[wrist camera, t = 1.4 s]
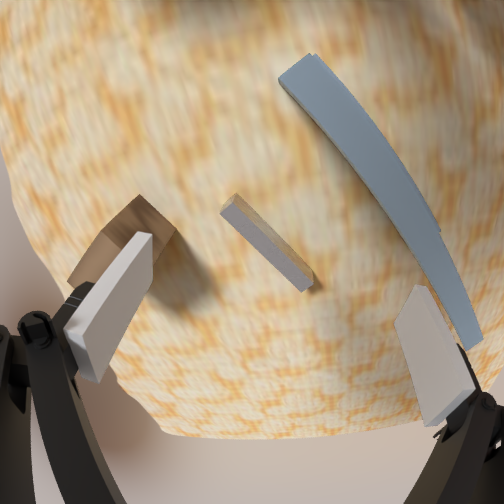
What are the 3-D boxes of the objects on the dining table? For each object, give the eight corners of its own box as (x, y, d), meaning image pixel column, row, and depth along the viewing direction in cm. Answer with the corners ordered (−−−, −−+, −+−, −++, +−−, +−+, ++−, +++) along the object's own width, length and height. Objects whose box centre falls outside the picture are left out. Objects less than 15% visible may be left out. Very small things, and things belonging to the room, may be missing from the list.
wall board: (278, 82, 28) (278, 78, 13) (314, 54, 26) (354, 19, 11) (409, 248, 36) (466, 351, 21) (438, 227, 34) (508, 320, 19)
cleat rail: (224, 203, 36) (219, 213, 33) (236, 192, 35) (232, 202, 32) (300, 278, 40) (301, 292, 38) (312, 270, 39) (313, 283, 37)
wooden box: (100, 244, 40) (64, 285, 32) (139, 193, 36) (100, 230, 27) (132, 273, 42) (103, 319, 34) (176, 228, 38) (148, 273, 29)
